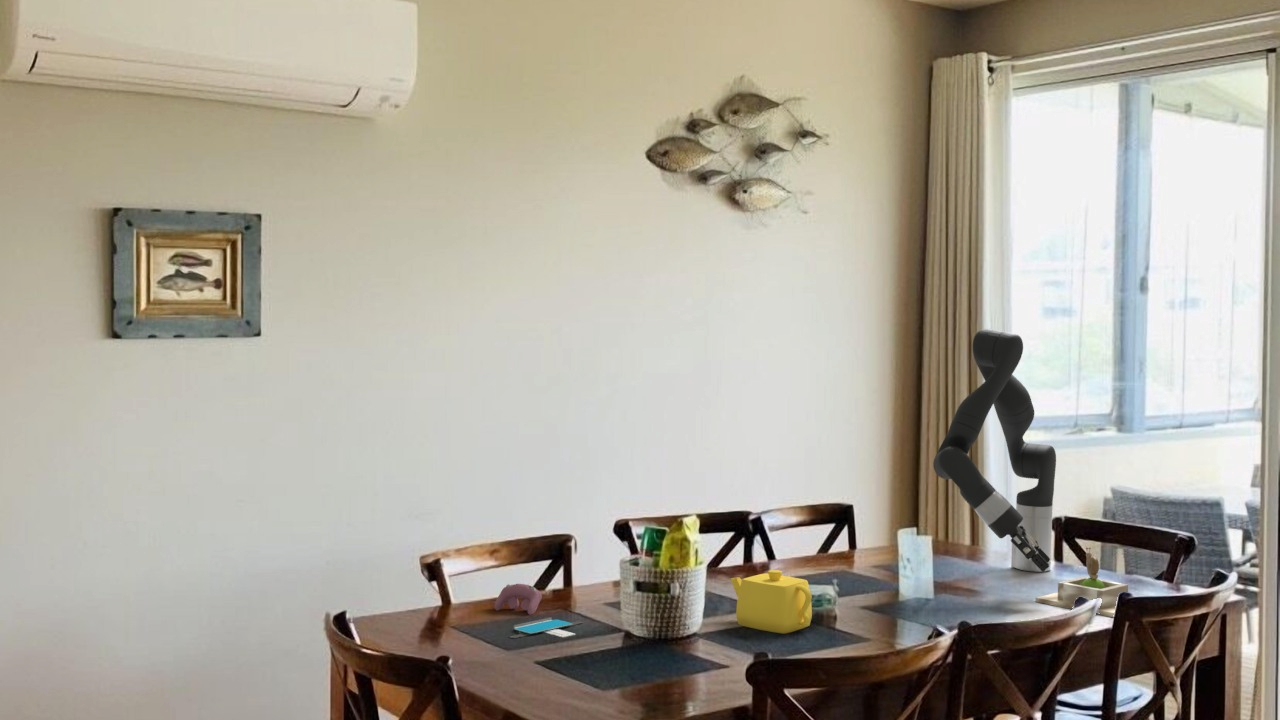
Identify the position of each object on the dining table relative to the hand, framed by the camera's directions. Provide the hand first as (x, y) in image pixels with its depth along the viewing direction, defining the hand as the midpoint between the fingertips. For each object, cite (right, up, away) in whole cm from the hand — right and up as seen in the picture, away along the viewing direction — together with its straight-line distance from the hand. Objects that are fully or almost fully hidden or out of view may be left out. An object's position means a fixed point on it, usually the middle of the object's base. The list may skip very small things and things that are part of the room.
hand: (1046, 565), depth 320 cm
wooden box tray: (+10, -9, -3) cm, 13 cm away
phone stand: (-115, -9, -38) cm, 121 cm away
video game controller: (-123, -7, -20) cm, 125 cm away
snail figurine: (+10, -8, -3) cm, 13 cm away
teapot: (-68, -9, -28) cm, 74 cm away
